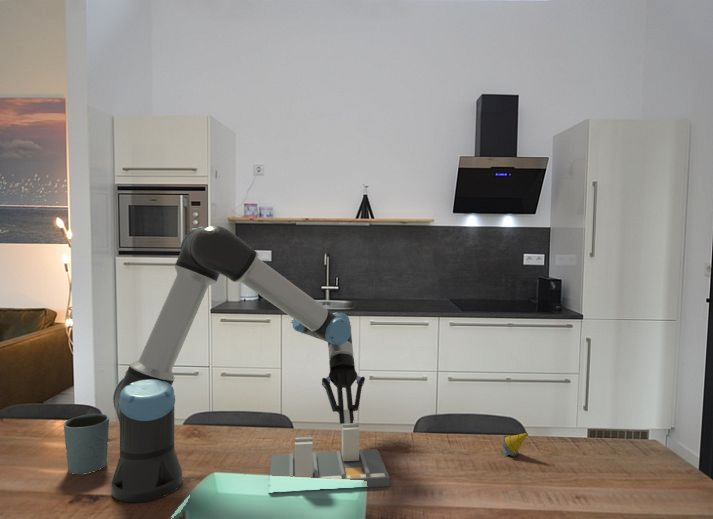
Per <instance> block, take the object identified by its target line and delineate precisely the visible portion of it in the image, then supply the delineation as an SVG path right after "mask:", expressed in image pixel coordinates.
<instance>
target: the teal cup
mask: <svg viewBox="0 0 713 519" xmlns="http://www.w3.org/2000/svg"><path fill="white" fill-rule="evenodd" d="M109 426H110V416H109V415H107V414H103V413H90V414H84V415H78V416H76V417H72V418H70V419H68V420H66V421H64V423H63V432H64V444H65V450H66V453H65V454H66V463H67V471H69V472H70V473H74V474H84V473H89V472H93V471H96V470H99V469H100V468H102V467H104V466H105V465H106V466H107V464H108V450H109V449H108V447H109V444H108V442H109ZM106 466H105V467H106ZM105 467H104V468H105ZM69 472H68V473H69ZM70 473H69V474H70Z"/></svg>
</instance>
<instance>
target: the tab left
mask: <svg viewBox="0 0 713 519" xmlns="http://www.w3.org/2000/svg"><path fill="white" fill-rule="evenodd" d="M313 439H314V438H313V436H304V437H303V436H301V437H294V454H295V477H311V478H313V452H314V451H313V446H314V444H313V442H314V440H313Z"/></svg>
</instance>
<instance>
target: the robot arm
mask: <svg viewBox="0 0 713 519" xmlns="http://www.w3.org/2000/svg"><path fill="white" fill-rule="evenodd" d="M174 268H175V272H176V274H177V275H176V276H175V279H174V281H173V283H172V286H170V287H171V288H170V290H169V292H168V294H167V297H166V299H165V301H164V303H163V306H162V308H161V310H160V312H159V315H158V316H157V319H156V321H155V323H154V326H153V328H152V330H151V332H150V335H149V336H148V339H147V341H146V344H145V346H144V348H143V350H142V352H141V355H140V357H139V359H138V360H136V361H133V362H131V363H130V364H129V366H128V369H127V371H126V372H125V375H124V377H123V378H122V379H121V380H120V381H118V384H117V385H116V386H115V389H114V393H113V397H112V400H113V401H112V402H113V407H114V409H115V411H116V412H115V413H116V415H117V418H118V421H119V459H118V462H117V465H116V467H115V471H114V474H113V477H112V480H111V485H110V486H111V496H112V497H113V498H114V499H116V500H118V501H120V502H125V503H143V502H149V501H153V499H154V500H157V499H156V498H158V499H159V498H160V497H161V498H163V497H165V496H164V495H166V496H168V495H170V494H171V492H172V491H173V492H175V491H176V490H177V489H179V488H180V486H181V485H182V483H183V470H182V469H183V468H182V466H181V464H180V463H181V462H180V460H179V458H178V455H177V453H176V449H175V403H176V395H175V389H174V387H173V384H174V381H175V375H174V373H173V368H174V365H175V363H176V361H177V359H178V357H179V354H180V352H181V350H182V347H183V345H184V343H185V341H186V339H187V336H188V334H189V331H190V329H191V327H192V325H193V322H194V320H195V317H196V316H197V314H198V311H199V309H200V306H201V304H202V301H203V299H204V297H205V294H206V293H207V290H208V289H209V286H211V285H213V284H215V283H217V281H218V278H219V277H220V275H222V276H224V277H226V278H227V279H229V280H230V281H231V282H233V283H237V282H240V283H241V284H243V285H245V286H246V287H247V288H249V289H250V290H252V291H253V292H254V293H256V294H258V295H259V296H260V297H262V298H263V299H265V300H266V301H267V302H269V303H270V304H272V305H274V306H275V307H277V309H279V310H280V311H282V312H283V313H284V314H286V315H288V316H289V317H291V319H292V328H293V330H294V331H295V332H299V333H300V334H304V335H308V336H310V337H312V338H316V339H318V340H321V341H324V342H326V343H327V345H328V346H327V348H328V359H329V360H328V361H329V362H328V364H329V373H328V376H327V377H323V378H321V385H322V387H323V388H324V389H325V393H326V395H327V398H328V401H329V404H330V407H331V410H332V412H333V413H335V412H337V413H338V416H339V417H338V419H339V424H341V425H342V424H346V423H354V420H355V419H354V418H355V417H354V412H357V411H358V410H359V408H360V407H359V406H360V402H361V394H362V388H363V386H364V384H365V381H366V378H365V376H359V375H358V372H357V371H356V365H355V358H354V357H355V356H354V349H353V338H352V325H351V321H350V318H349V316H348V315H347V314H345V313H343V312H332V311H330V310H329V309H327V308H326V307H325V306H324V305H322V304H321V303H320V302H318V301H317V300H315V299H314V298H313V297H311V296H310V295H308V294H307V293H306V292H304V291H303V290H302V289H301V288H300V287H298V286H296V285H295V284H293V283H292V281H290V280H288V279H287V278H286V277H285V276H284V275H282V274H280V273H279V272H278V271H276V270H275V269H274V268H273V267H271V266H270V265H268V264H267V263H266V262H264V261H263V260H262V259H260V258H259V257H258V252H257V251H256V250H254V248H252V247H251V246H249V244H247V243H246V242H245V241H243V239H241V238H240V237H238V236H237V235H236V234H234V233H233V231H231V230H229V229H228V228H226V227H222V226H220V225H210V226H199V227H195V228H194V229H192V230H191V231H189V232H188V233H187V234H186V235H185V236H184V237H183V239H182V241H181V244H180V252H179V255H178V258H177V259H176V261H175V264H174ZM331 383H332V384H333V385H334V386H335V388H336V394H337V401H336V398H335V395H334V392H333V390H332V386H331ZM354 383H356V385H357V387H356V394H355V400H354V402H353V395H352V394H353V392H352V386H353V384H354ZM343 388H345V394H346V396H345V397H346V405H347V409H345V408H344V407H345V406H344V394H343ZM353 403H354V404H353ZM180 484H181V485H180ZM176 488H177V489H176ZM175 489H176V490H175ZM174 490H175V491H174ZM173 492H172V493H173ZM169 493H170V494H169ZM167 494H168V495H167ZM162 496H163V497H162ZM161 498H160V499H161Z"/></svg>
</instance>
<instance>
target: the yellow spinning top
mask: <svg viewBox="0 0 713 519" xmlns="http://www.w3.org/2000/svg"><path fill="white" fill-rule="evenodd" d="M528 435H529V432H526V433H521V434H516V435H515V434H514V435H510V436H507V435H505V436H502V437H501V439H500V443H501V445H502V449H501V450H500V453H501V454H502V455H503V456H505V457H508V456H509V455H510V456H511V457H515V456H517V455H518V454H519V449H520V448H521V446H522V444H523V443H524V442H525V440H526V438H527V437H528Z"/></svg>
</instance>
